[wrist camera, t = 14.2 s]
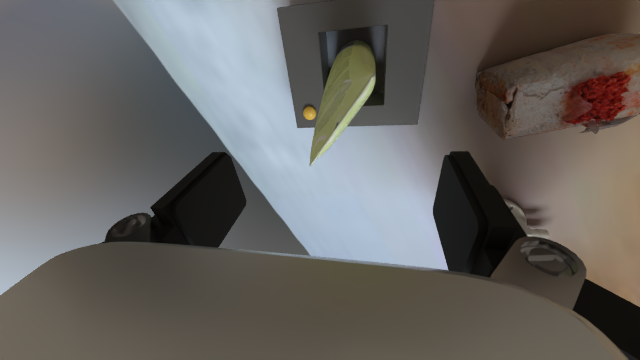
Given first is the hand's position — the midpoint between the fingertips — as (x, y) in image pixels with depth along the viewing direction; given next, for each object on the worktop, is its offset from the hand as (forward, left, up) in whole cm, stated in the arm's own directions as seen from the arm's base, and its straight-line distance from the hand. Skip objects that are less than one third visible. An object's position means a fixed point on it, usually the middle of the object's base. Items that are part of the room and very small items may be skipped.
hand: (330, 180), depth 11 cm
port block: (0, 0, -25) cm, 25 cm away
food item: (-21, +3, -26) cm, 33 cm away
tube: (0, 0, -25) cm, 25 cm away
